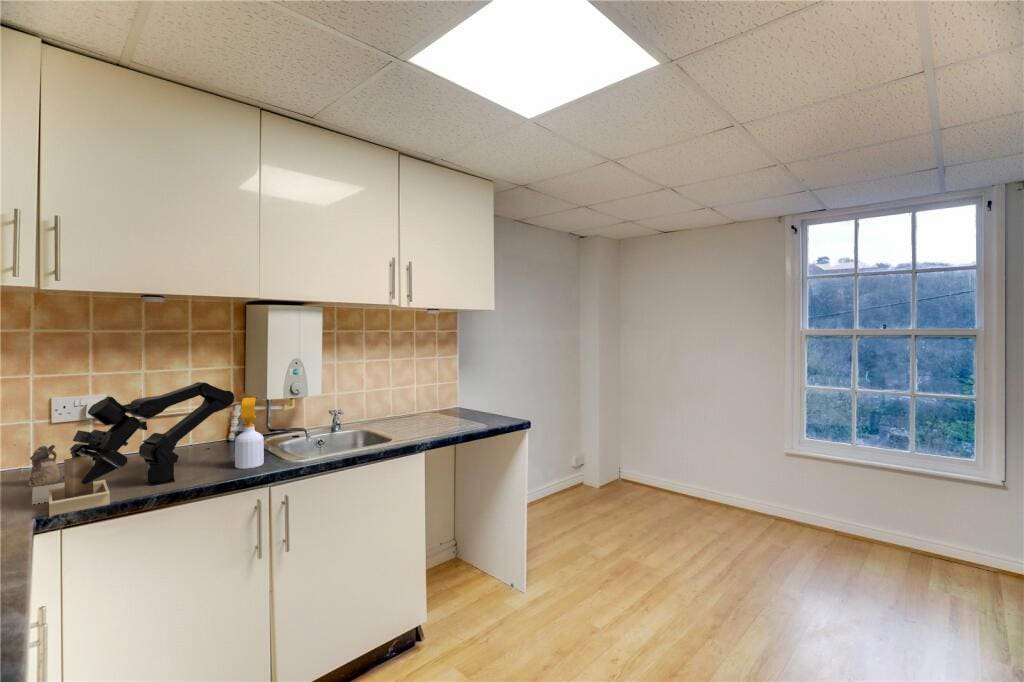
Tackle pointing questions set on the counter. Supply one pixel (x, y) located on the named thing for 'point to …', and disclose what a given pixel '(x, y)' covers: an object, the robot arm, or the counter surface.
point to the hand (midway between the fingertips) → (73, 481)
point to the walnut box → (77, 476)
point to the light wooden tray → (78, 499)
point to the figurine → (44, 467)
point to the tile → (43, 493)
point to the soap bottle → (249, 440)
